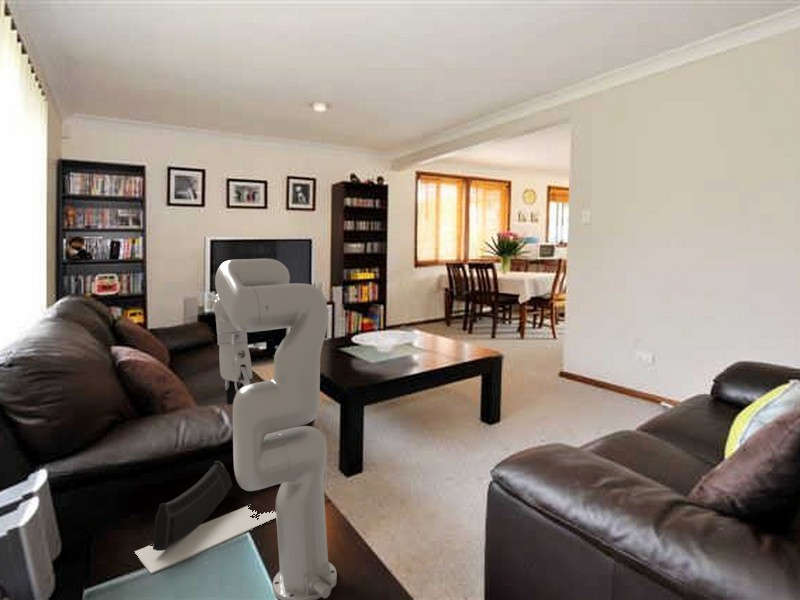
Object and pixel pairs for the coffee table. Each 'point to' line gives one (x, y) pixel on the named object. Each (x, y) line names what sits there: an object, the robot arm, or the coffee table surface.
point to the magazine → (190, 507)
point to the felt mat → (203, 538)
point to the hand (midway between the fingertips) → (237, 404)
